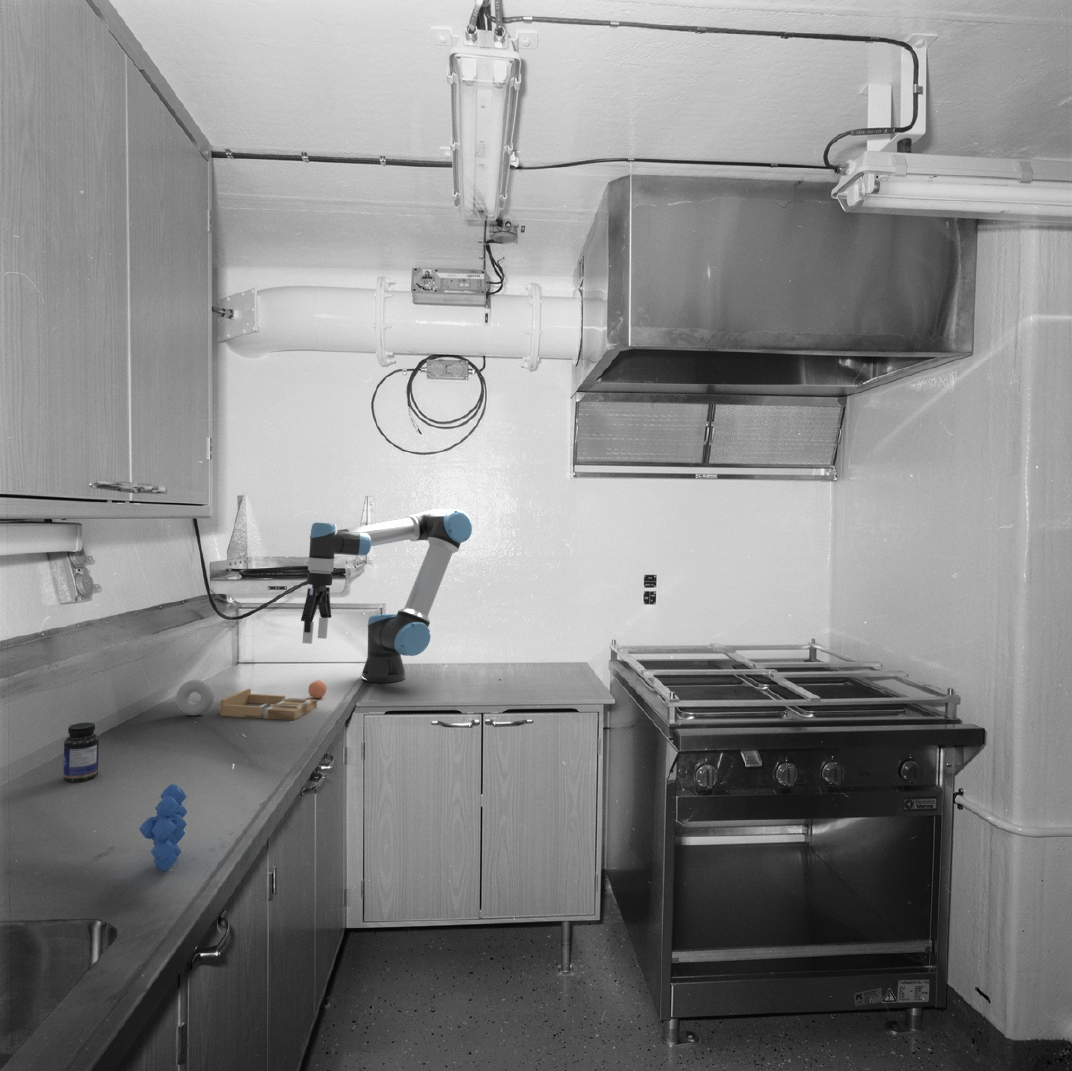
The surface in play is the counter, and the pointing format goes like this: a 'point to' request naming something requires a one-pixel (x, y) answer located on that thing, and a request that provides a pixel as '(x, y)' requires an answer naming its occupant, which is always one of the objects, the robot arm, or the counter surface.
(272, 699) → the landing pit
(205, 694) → the donut
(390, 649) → the robot arm
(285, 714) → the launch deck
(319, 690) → the ball
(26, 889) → the counter surface
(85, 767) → the pill bottle
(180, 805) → the grapes
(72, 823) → the counter surface
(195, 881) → the counter surface
